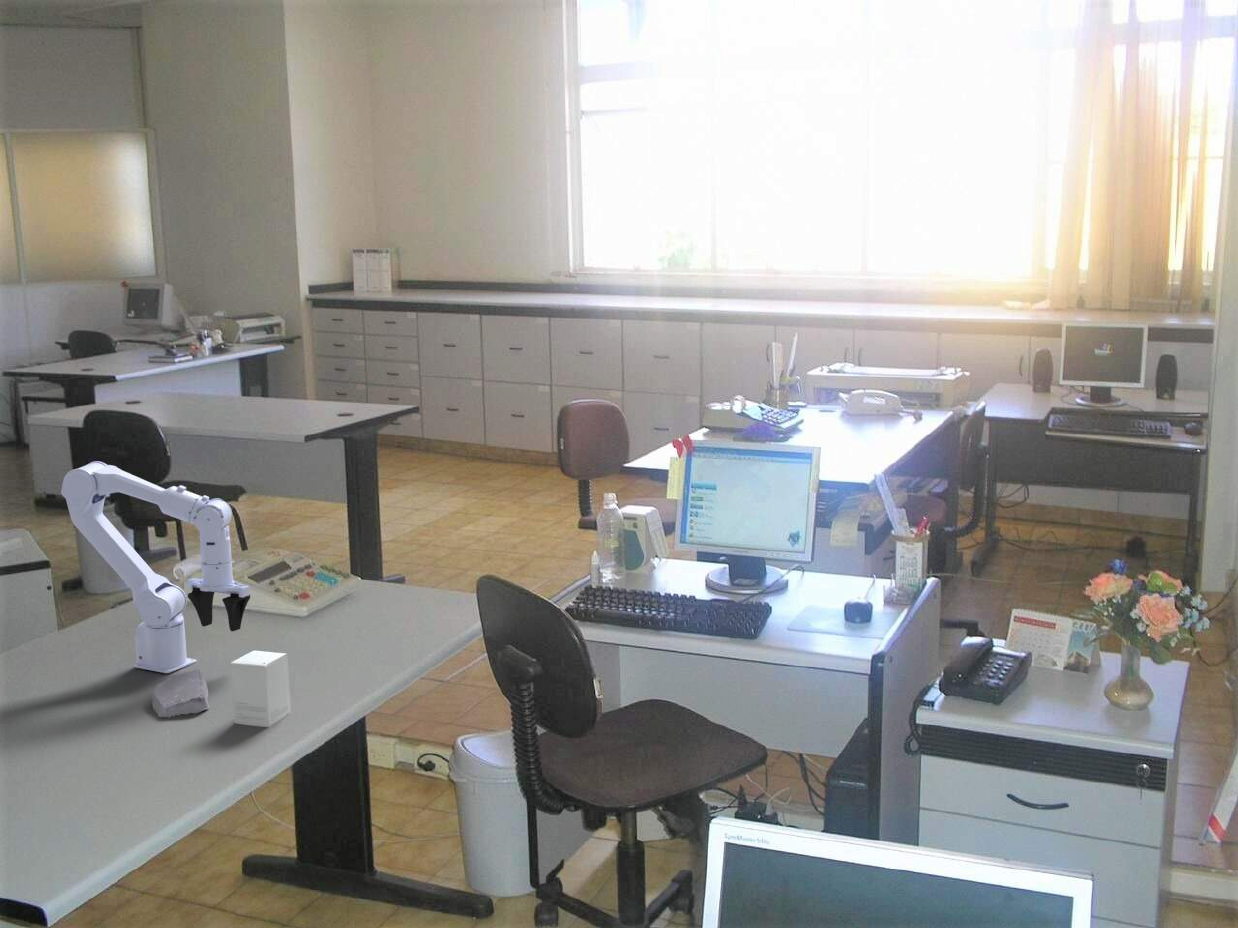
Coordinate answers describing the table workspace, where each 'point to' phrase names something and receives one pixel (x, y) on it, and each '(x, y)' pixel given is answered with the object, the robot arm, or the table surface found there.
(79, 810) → the table surface
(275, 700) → the supplement box
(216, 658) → the table surface
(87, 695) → the table surface
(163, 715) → the stone block
